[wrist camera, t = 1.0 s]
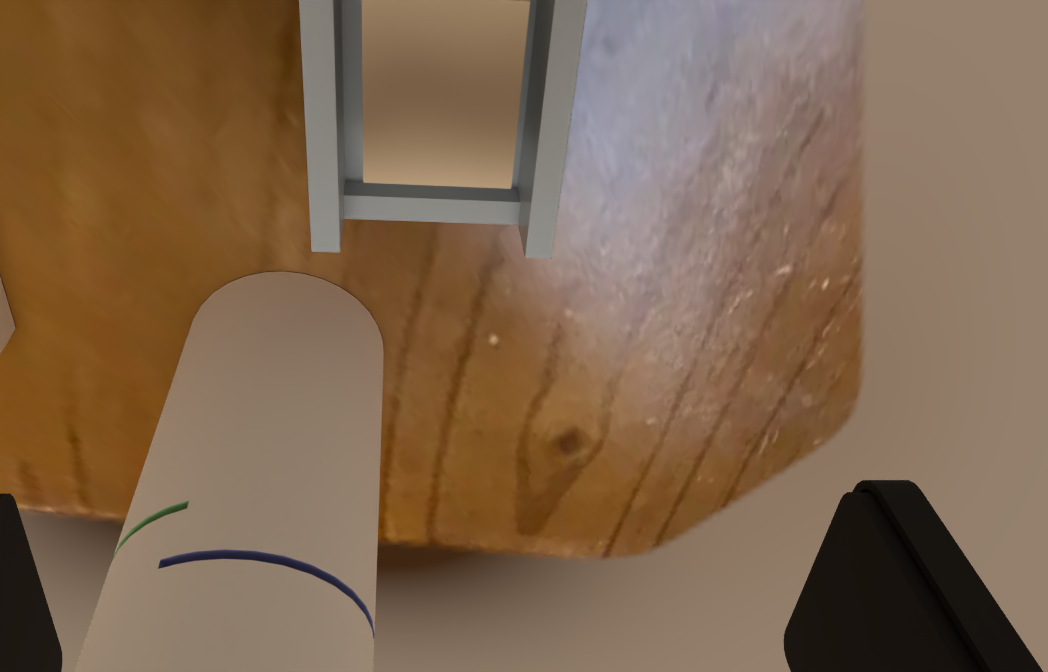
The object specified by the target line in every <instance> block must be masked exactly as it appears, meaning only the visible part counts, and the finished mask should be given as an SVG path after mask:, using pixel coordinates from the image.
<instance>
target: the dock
mask: <svg viewBox="0 0 1048 672" xmlns="http://www.w3.org/2000/svg"><path fill="white" fill-rule="evenodd" d="M15 329H16V328H15V324H14V321H13V318H12V314H11V311H10V307H9V304H8V301H7V297H6V294H5V291H4V287H3V284H2V281H1V277H0V354H1V352H2V350H3V349H4V347H5V345H6V344H7V342H8V341H9V339H10V337H11V336H12V334H13V332H14V331H15Z"/></svg>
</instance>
